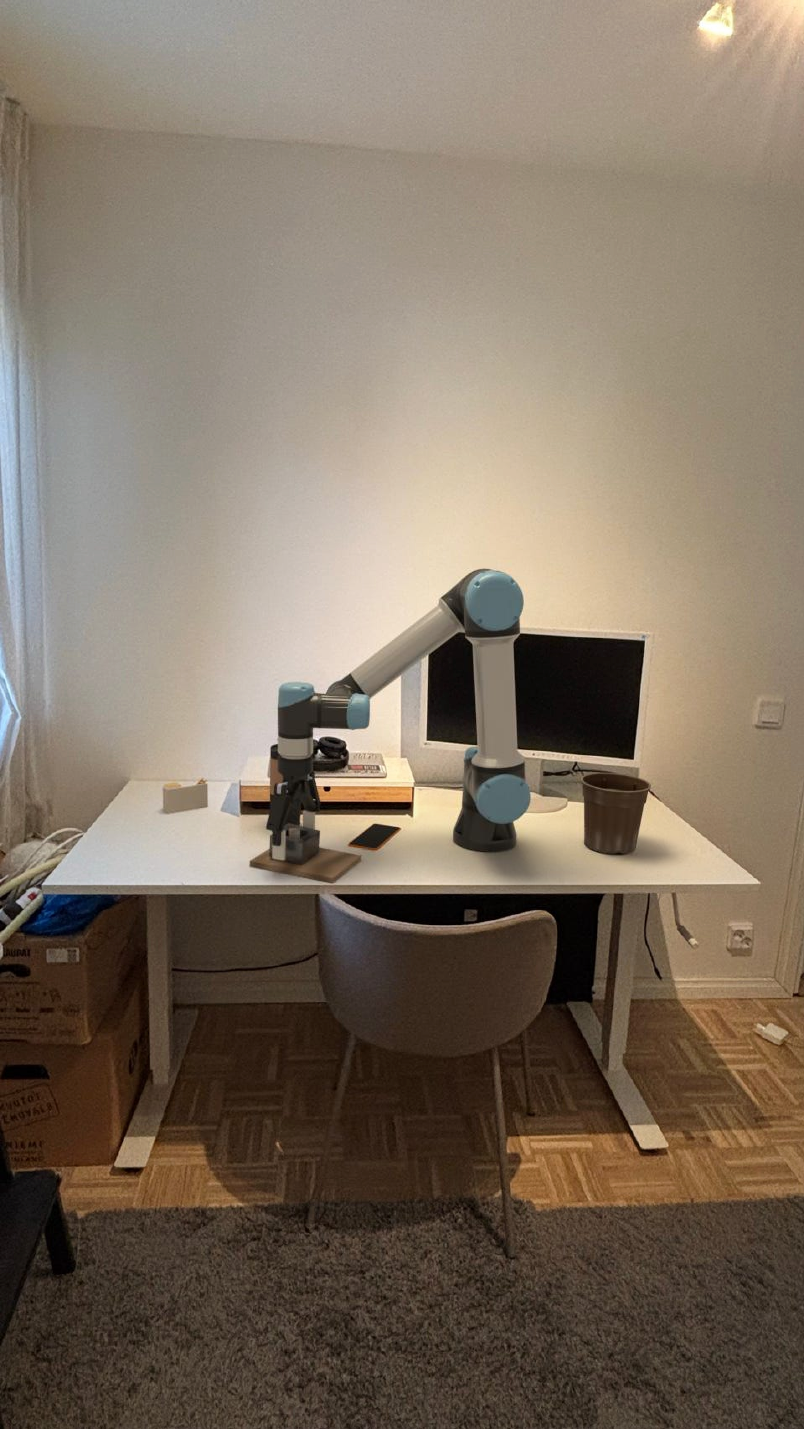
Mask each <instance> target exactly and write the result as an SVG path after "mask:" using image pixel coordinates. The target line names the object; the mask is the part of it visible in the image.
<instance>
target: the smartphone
mask: <svg viewBox="0 0 804 1429" xmlns="http://www.w3.org/2000/svg"><path fill="white" fill-rule="evenodd" d="M401 830H402V827H400V826H394V825H388V824H381V823H372V824H371V825H369V826H368V827H367V828H366V829H365V830H364V831H362V832H361V833H360V834H358V835H357V836H356V837H355V838H354V839H352V840H351V841H350V842H348V843H347V846H348V847H351V848H356V849H362V850H369V851H373V852H375V851H378V850H379V849H381V848H382V847H383V846H384V845H385V844H387V843H388V842H389V841H390V840H391V839H392V838H393V837H395V835H396V834H397V833H399V832H400V831H401Z"/></svg>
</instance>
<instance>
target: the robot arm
mask: <svg viewBox="0 0 804 1429" xmlns="http://www.w3.org/2000/svg"><path fill="white" fill-rule="evenodd" d="M524 602H525V600H524V595H523V591H522V589H521V586H520V585H519V583H518V582H517V581H516V579H514V578H513V577H512V576H511V575H510V574H508V573H505V571H500V570H494V569H490V568H478V569H475V570H473V571H471V572H469V573H467V574H466V575H465V576H464V577H463V578H461V579H460V580H459V582H457V583H456V584H455V585H454V586H453V587H452V588H451V589H449V590H448V591H447V592H446V593H444V594H443V595H442V596H441V597H439V599H438V604H437V605H436V606H435V607H434V608H432V609H431V610H430V611H428V613H426V614H425V615H423V616H422V617H421V618H420V619H418V620H417V621H416V622H414V623H413V624H412V625H410V626H409V627H408V628H406V629H405V630H403V632H401V633H400V634H399V635H397V636H396V637H395V638H394V639H392V640H390V642H388V643H387V644H385V646H383V647H382V648H380V649H379V650H377V652H375V653H374V654H373V655H371V656H370V657H369V658H368V659H366V660H365V661H364V662H362V663H361V664H360V665H358V666H357V667H356V668H355V669H353V670H352V671H351V672H350V673H348V674H347V675H345V676H344V677H342V679H340V680H336V681H334V682H333V683H331V684H330V685H329V686H328V688H327V690H326V692H325V693H318V692H316V691H315V687H314V685H313V684H312V683H308V682H302V681H291V682H285V683H282V684H281V685H280V687H279V688H278V697H277V738H276V741H277V744H278V753H279V754H280V755H279V756H278V772H279V773H280V774H282V776H283V781H282V783H281V784H279V783H275V785H274V795H273V799H272V803H271V808H270V807H269V808H270V809H269V813H268V817H267V821H266V826H265V828H266V830H267V831H272V834H273V838H272V858H273V859H278V860H283V861H284V860H285V839H286V830H283V829H284V826H285V823H286V820H287V817H288V814H289V811H290V809H291V806H292V803H294V802H295V801H296V798H297V797H298V796H299V798H300V800H301V805H303V808H304V810H302V826H303V827H307V828H311V829H315V830H316V812H317V813H318V812H320V811H321V810H320V809H321V807H320V806H321V799H320V794H319V790H318V787H317V782H316V774H315V770H313V767H314V766H313V765H314V757H313V755H312V754H313V753H314V729H328V730H329V729H331V730H351V731H355V730H366V729H367V728H368V727H369V726H370V718H371V699H372V698H373V697H375V696H376V695H378V694H379V693H380V692H381V691H383V690H385V688H387V687H388V686H389V685H390V684H392V683H393V682H394V681H396V680H398V679H399V677H401V676H402V675H404V674H405V673H406V672H408V671H409V670H410V669H411V668H413V667H414V666H415V665H416V664H418V663H419V662H421V661H422V660H423V659H424V658H426V657H427V656H429V655H431V653H432V652H434V651H435V650H437V649H438V648H440V646H442V645H443V644H444V643H446V642H447V641H449V639H451V638H452V637H454V636H455V635H456V634H458V633H464V637H465V639H466V640H467V641H469V642H470V643H471V644H472V657H473V658H472V660H473V680H474V698H475V699H474V700H475V701H474V702H475V714H476V715H475V718H476V719H475V720H476V735H477V736H476V738H477V740H476V741H477V746H469V747H468V748H466V750H465V751H464V757H463V777H462V778H463V779H462V796H461V798H462V799H461V810H460V812H459V815H458V816H457V819H456V822H455V824H454V827H453V830H452V840H453V843H455V844H456V845H458V846H460V847H462V848H464V849H468V850H472V851H476V852H477V851H479V852H489V853H490V852H502V851H507V850H510V849H512V848H513V847H515V845H516V844H517V831H516V827H515V823H514V822H516V821H518V820H519V819H520V818H522V816H524V814H525V813H527V811H528V810H529V806H530V803H531V790H530V786H529V784H528V783H527V780H526V762H525V760H526V759H525V756H524V755H523V754H521V753H520V752H519V749H518V733H517V731H518V730H517V706H516V680H515V658H514V656H515V655H514V654H515V653H514V642H515V641H516V639H517V638H519V636H520V635H521V621H520V620H521V619H520V618H521V615H522V613H523V609H524V605H525V604H524ZM286 796H287V797H286Z"/></svg>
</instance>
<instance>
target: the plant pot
mask: <svg viewBox="0 0 804 1429" xmlns="http://www.w3.org/2000/svg"><path fill="white" fill-rule="evenodd" d="M580 782H581V784H582V786H581V787H582V797H583V843H584V845H586V847H587V848H589V849H591V850H592V851H595V852H598V853H602V854H610V855H615V854H617V853H620V854H621V855H626V854H631V853H632V852H635V850H636V849H637V844H638V838H639V833H640V829H641V828H640V827H641V822H642V818H643V815H644V814H643V813H644V809H645V808H644V807H645V804H646V803H647V799H648V796H649V795H648V794H649V790H651V788H652V784H651V783H650V782H649V781H647V780H646V779H643V778H641V777H638V776H634V775H629V774H623V773H615V772H592V773H588V774H584V775H581V777H580Z"/></svg>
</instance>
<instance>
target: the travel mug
mask: <svg viewBox="0 0 804 1429" xmlns="http://www.w3.org/2000/svg"><path fill="white" fill-rule="evenodd" d="M269 749H270V751H269V753H270V754H269V755H270V756H269V759H270V763H269V768H270V769H269V770H270V771H269V808H271V803H272V799H273V795H274V785H275V783H279V784H281V783H282V781H283V776H282V774H280V773H279V772H278V756H279V755H280V754H279V753H278V743H275V744H273V745H271V746H270V748H269ZM286 797H287V796H286ZM301 808H302V802H301V800H300V798H299V796H298V797H297V798H296V801H295V802H294V803H292V806H291V809H290V811H289V814H288V817H287V820H286V823H285V825H286V824H288V823H290V824H294V825H298V826H301V811H302V810H301Z"/></svg>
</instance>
